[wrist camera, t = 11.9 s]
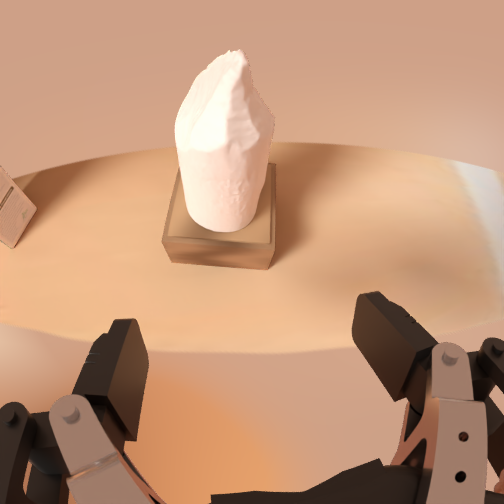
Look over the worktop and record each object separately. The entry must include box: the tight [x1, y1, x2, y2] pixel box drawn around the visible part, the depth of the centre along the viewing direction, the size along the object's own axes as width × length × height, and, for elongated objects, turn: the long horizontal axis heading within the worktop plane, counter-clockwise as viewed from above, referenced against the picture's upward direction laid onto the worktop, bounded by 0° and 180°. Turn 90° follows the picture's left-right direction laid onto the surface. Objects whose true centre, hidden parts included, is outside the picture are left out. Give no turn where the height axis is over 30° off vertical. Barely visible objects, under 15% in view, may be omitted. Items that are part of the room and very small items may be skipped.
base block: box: [162, 163, 276, 270], centre depth 23 cm, size 8×8×4 cm
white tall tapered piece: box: [175, 49, 275, 232], centre depth 15 cm, size 6×12×6 cm
